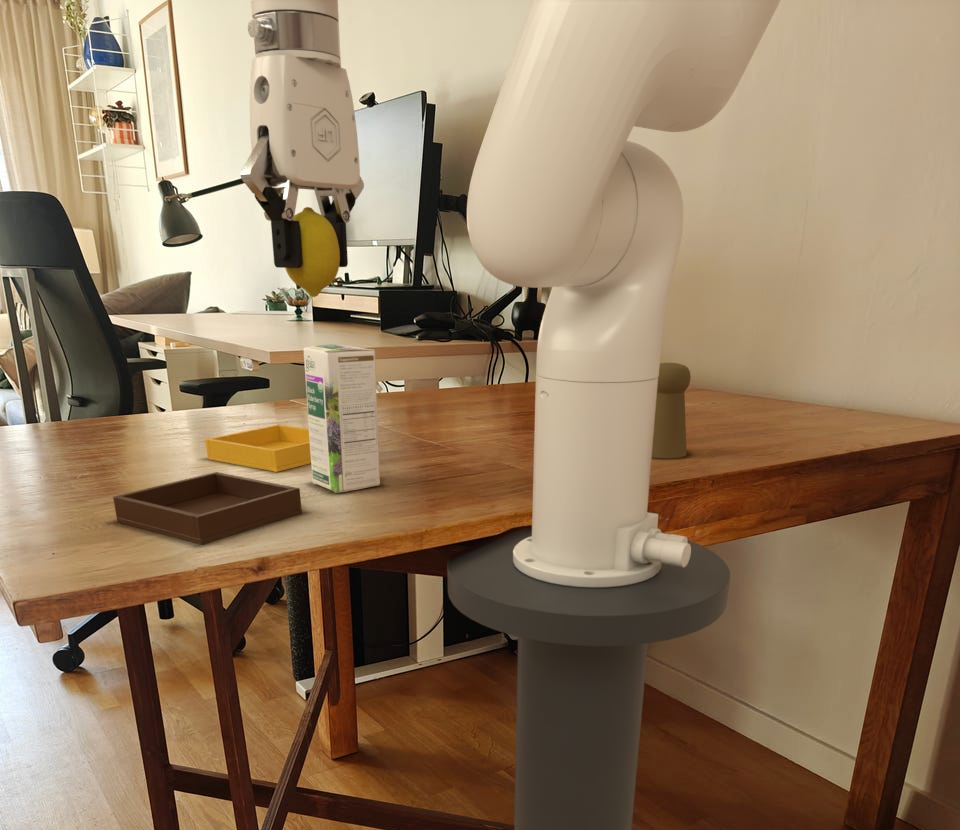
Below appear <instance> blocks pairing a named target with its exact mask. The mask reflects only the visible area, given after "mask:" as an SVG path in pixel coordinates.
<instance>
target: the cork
mask: <svg viewBox="0 0 960 830" xmlns="http://www.w3.org/2000/svg"><path fill="white" fill-rule="evenodd" d="M691 377H692V376H691V371H690V369H689V367H688V366H687V365H685V364H681V363H677V362H660V366H659V376H658V385H657V397H656V410H655V422H654V434H653V446H652V458H653V459H681V458H684V457H686V456H687V455H688V454H687V426H686V398H685V397H686V396H685V392H686V391H687V389H688V388H689V386H690V383H691Z"/></svg>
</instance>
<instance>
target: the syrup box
mask: <svg viewBox="0 0 960 830" xmlns="http://www.w3.org/2000/svg"><path fill="white" fill-rule="evenodd" d="M303 361H304V362H303V363H304V375H305V377H304V378H305V392H306V406H307V408H306V409H307V423H308V424H307V425H308V429H309V439H310V453H311V463H310V464H311V467H310V468H311V478H312V479H311V480H312V484H313V485H316V486H317V485H318V486H320V487H322V488H324V489H327V490H329V491H332V492H333V493H335V494H340V493H344V492H345V493H346V492H350V491H357V490H363V489H367V488H372V487H377V486H380V485H381V473H380V472H381V470H380V449H379V448H380V447H379V420H378V419H379V418H378V397H377V395H378V393H377V373H376V372H377V371H376V369H377V368H376V350H375V349H374V348H366V347H365V348H364V347H358V346H351V345H346V344H316V345H311V346H306V347H303Z"/></svg>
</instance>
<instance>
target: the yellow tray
mask: <svg viewBox="0 0 960 830" xmlns="http://www.w3.org/2000/svg"><path fill="white" fill-rule="evenodd" d="M204 440H205V448H206V455H207V460H210V461H215V462H220V463H226V464H232V465H237V466H241V467H247V468H253V469H257V470H263V471H269V472H275V473H278V472H282V471H287V470H290V469H294V468H299V467H302V466H306V465H310V464H311V453H310V439H309V428H307V427H300V426H293V425H286V424H280V423H279V424H274V425H268V426H263V427H259V428H253V429H249V430H248V429H247V430H243V431H239V432H233V433H229V434H223V435H219V436H213V437H209V438H205V439H204Z"/></svg>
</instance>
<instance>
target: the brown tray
mask: <svg viewBox="0 0 960 830" xmlns="http://www.w3.org/2000/svg"><path fill="white" fill-rule="evenodd" d="M300 489H301V488H300V487H295V486H289V485H285V484H280V483H276V482H275V483H274V482H270V481H265V480H260V479H254V478H249V477H245V476H239V475H235V474H234V475H233V474H228V473H223V472H220V471H219V472H218V471H214V472H209V473H205V474H202V475H197V476H192V477H189V478H185V479H181V480H176V481H173V482H168V483H164V484H160V485H156V486H151V487H147V488H143V489H139V490H135V491H130V492H127V493H123V494H119V495H113V496H112V499H113V500H112V501H113V506H114V510H115V516H116V521H117V523H119V524H123V525H127V526H131V527H134V528H137V529H141V530H145V531H149V532H153V533H156V534H160V535H163V536H164V535H165V536H168V537H171V538H176V539H180V540H182V541H187V542H191V543H195V544H199V545H205V544H208V543H211V542H214V541H218V540H220V539H223V538H227V537H230V536H233V535H236V534H240V533H243V532H246V531H249V530H252V529H255V528H259V527H262V526H265V525H269V524H271V523H275V522H278V521H281V520H284V519H288V518H291V517H294V516H296V515H300V514H302V511H303V510H302V499H301V490H300Z"/></svg>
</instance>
